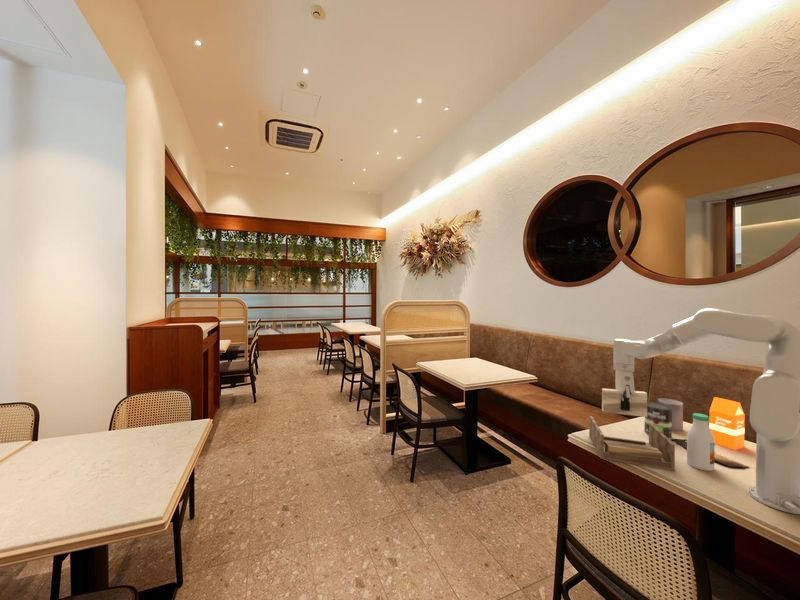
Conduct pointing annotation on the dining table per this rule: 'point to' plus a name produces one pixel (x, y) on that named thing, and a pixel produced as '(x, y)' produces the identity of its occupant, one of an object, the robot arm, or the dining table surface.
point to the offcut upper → (633, 449)
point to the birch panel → (613, 400)
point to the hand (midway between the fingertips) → (623, 408)
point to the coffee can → (659, 418)
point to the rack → (655, 441)
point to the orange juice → (727, 423)
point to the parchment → (717, 456)
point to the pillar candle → (674, 413)
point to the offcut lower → (634, 455)
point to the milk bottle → (700, 444)
